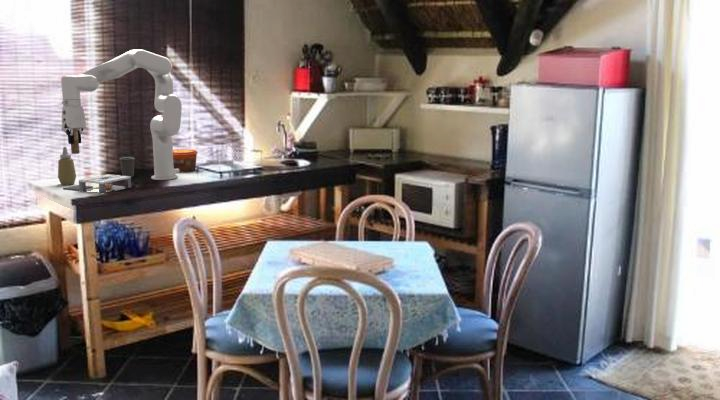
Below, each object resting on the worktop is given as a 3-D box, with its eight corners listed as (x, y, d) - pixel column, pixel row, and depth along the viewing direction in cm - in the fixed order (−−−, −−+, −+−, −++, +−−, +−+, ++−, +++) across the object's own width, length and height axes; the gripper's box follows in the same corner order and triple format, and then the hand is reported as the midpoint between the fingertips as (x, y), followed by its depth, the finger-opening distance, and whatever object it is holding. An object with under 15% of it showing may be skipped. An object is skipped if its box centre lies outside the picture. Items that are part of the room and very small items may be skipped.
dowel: (81, 153, 324) (79, 124, 321) (75, 154, 321) (73, 125, 318) (75, 152, 325) (73, 124, 322) (69, 153, 322) (67, 125, 319)
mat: (78, 186, 332) (78, 184, 332) (92, 187, 328) (92, 186, 328) (63, 189, 324) (63, 187, 324) (77, 190, 320) (77, 189, 320)
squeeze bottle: (79, 184, 336) (76, 147, 333) (62, 186, 331) (59, 148, 327) (72, 182, 342) (69, 145, 339) (55, 184, 337) (52, 146, 333)
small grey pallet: (108, 185, 335) (107, 174, 334) (131, 187, 329) (130, 176, 328) (79, 191, 319) (78, 179, 318) (102, 193, 313) (102, 182, 312)
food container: (183, 173, 370) (182, 153, 367) (161, 171, 377) (160, 151, 375) (204, 169, 383) (203, 150, 381) (182, 167, 391) (182, 148, 389)
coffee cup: (125, 178, 355) (124, 158, 353) (116, 176, 360) (115, 157, 358) (139, 176, 361) (138, 156, 359) (130, 174, 366) (129, 155, 364)
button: (105, 187, 327) (105, 183, 326) (112, 188, 325) (112, 184, 325) (99, 189, 323) (99, 184, 323) (105, 189, 322) (105, 185, 321)
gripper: (63, 104, 309) (66, 145, 313) (91, 102, 324) (94, 142, 328) (51, 103, 312) (54, 144, 316) (79, 102, 327) (82, 141, 331)
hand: (74, 143), depth 322 cm, fingers closed on dowel, 3 cm apart
